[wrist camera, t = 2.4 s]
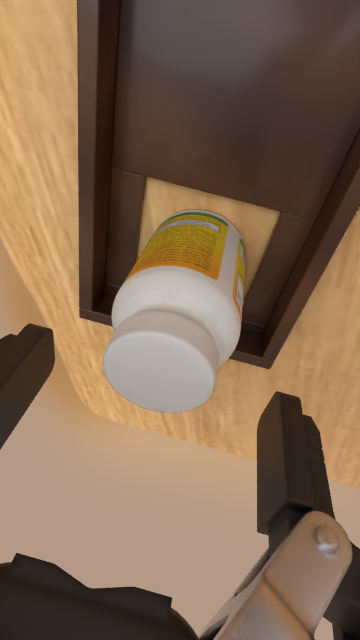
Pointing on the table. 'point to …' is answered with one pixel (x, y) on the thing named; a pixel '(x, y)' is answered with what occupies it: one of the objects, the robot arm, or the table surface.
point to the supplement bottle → (178, 313)
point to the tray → (220, 137)
